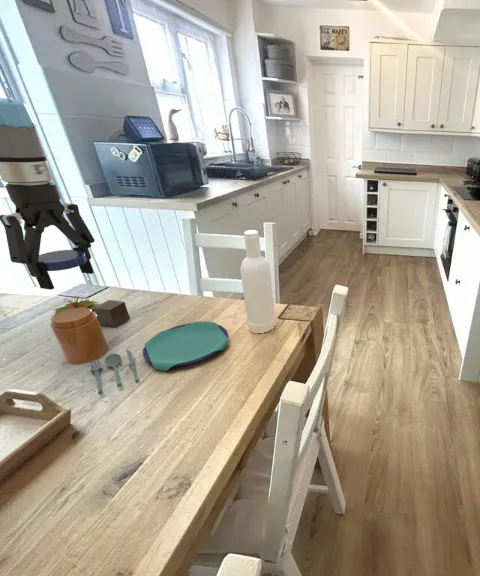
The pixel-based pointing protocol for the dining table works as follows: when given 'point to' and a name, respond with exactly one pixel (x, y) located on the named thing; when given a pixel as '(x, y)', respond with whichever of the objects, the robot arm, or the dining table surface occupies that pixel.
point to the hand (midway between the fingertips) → (68, 280)
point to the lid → (63, 259)
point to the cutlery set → (173, 348)
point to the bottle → (257, 286)
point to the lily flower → (76, 305)
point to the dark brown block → (112, 313)
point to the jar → (79, 335)
